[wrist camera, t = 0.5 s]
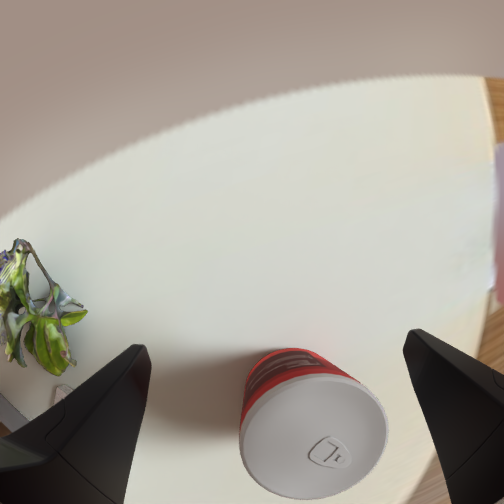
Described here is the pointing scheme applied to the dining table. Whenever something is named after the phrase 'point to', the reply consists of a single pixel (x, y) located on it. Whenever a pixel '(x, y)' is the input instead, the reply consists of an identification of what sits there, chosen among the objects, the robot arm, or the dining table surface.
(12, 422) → the channel
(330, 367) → the canned food
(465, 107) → the dining table surface
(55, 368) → the passion flower
